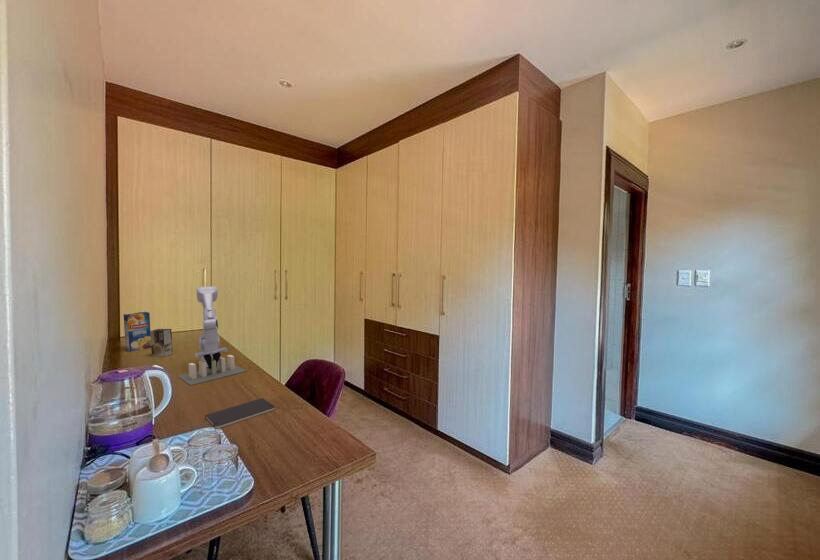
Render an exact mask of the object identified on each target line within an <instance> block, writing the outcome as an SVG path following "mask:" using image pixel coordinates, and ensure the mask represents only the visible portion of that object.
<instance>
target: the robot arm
mask: <svg viewBox="0 0 820 560" xmlns="http://www.w3.org/2000/svg"><path fill="white" fill-rule="evenodd" d="M217 299H218V287H217V286H216V285H212V286H197V287H196V300H197V302H198V303H199V304H202V309H203V310H202V313H203V314H202V317H203V321H202V329H203V330H202V331H203V332H202V333H201V334H200V335H199V336H198V337H199V338H198V346H199V350H201V351H199V352H195V353H194V356H195V357H194V358H195V359H196V358H197V359H198V358H200V361H204V362H206V368H207V369H211V367H212V365H211V359H214V360H216V368H217V367H218V360H219V358H220V357H222V354H221V353H227V352H228V347H220V346H221V341H220V339H221V338H220V334H219V333H218V329H219V321H218V317H217V312H216V309H215V307H213V305H214V304H213V303H214V302H216V301H217Z"/></svg>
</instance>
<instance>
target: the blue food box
mask: <svg viewBox="0 0 820 560" xmlns="http://www.w3.org/2000/svg"><path fill="white" fill-rule="evenodd" d="M150 317H151V316H150V312H148V311H141V312H140V311H139V312H133V313H131V312H130V313H123V325H124V328H123V330H124V346H125V351H127V352H129V353H130V352H131V353H132V352H136V351H142V350H147V349H152V348H151V335H150V331H151V318H150Z"/></svg>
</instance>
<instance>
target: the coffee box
mask: <svg viewBox="0 0 820 560" xmlns="http://www.w3.org/2000/svg"><path fill="white" fill-rule="evenodd" d="M150 335H151V348H150V349H151V357H161V358H162V357H168V356H171V355H173V352H174V351H173V337H172V335H173V334H172V328H156V329H153V330H150Z"/></svg>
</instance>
